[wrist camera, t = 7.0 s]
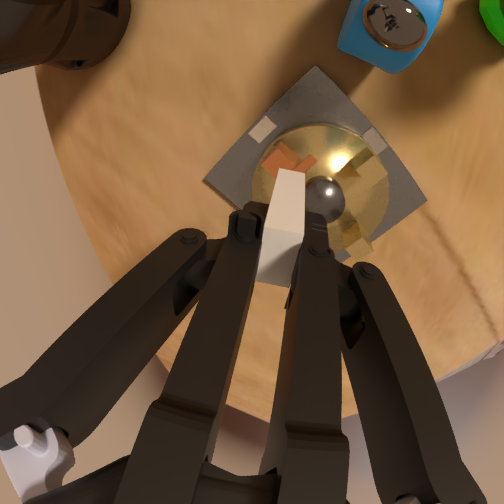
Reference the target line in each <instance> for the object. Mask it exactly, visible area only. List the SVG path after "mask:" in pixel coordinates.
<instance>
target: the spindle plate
mask: <svg viewBox="0 0 504 504" xmlns="http://www.w3.org/2000/svg"><path fill="white" fill-rule="evenodd" d="M308 123H330V124H335V125H338V126H342V127H344V128H346V129H349V130H351V131H352V132H354V133H355V134H357V135H358V136H360V137H361V138H362V139H363V140H364V141H365V142H366V143H367V144H368V145H369V146H370V147H371V148H372V149H373V150H374V152H375V153H376V154H377V156H378V157H379V159H380V160H381V162H382V164H383V166H384V168H385V170H386V171H387V173H388V174H387V177H388V182H389V201H388V206H387V209H386V212H385V215H384V217H383V219H382V221H381V222H380V224H379V226H378V227H377V228H376V229H375V231H374V232H373V233H372V234H371V235H370V236H369V237H370V240H371V242H372V241H374V240H375V239H376V238H378V237H379V236H381V235H382V234H383V233H385V232H386V231H387V230H389V229H390V228H392V227H393V226H394V225H396V224H397V223H398V222H400V221H401V220H402V219H404V218H405V217H407V216H408V215H409V214H411V213H412V212H413V211H414V210H416V209H417V208H418V207H420V206H421V205H422V204H424V203H425V202H426V201H427V199H426V197H425V196H424V194H423V193H422V191H421V190H420V188H419V187H418V185H417V183H416V182H415V180H414V179H413V178H412V176H411V175H410V173H409V172H408V170H407V169H406V167H405V166H404V165H403V163H402V162H401V161H400V159H399V158H398V156H397V155H396V154H395V152H394V151H393V150H392V148H391V147H390V146H389V145H388V143H387V142H386V141H385V139H384V138H383V137H382V136H381V134H380V133H379V132H378V131H377V130H376V128H375V127H374V126H373V125H372V124H371V122H370V121H369V120H368V119H367V118H366V117H365V115H364V114H363V113H362V112H361V111H360V110H359V109H358V108H357V106H356V105H355V104H354V103H353V102H352V101H351V100H350V99H349V98H348V97H347V96H346V95H345V94H344V93H343V92H342V90H341V89H340V88H339V87H338V86H337V85H336V84H335V83H334V82H333V81H332V80H331V79H330V78H329V77H328V76H326V75H325V74H324V73H323V72H322V71H321V70H320V69H319V68H318V67H317V66H316V65H315V66H314V67H313V68H312V69H310V70H309V71H308V72H307V73H306V74H305V75H304V76H303V77H302V78H301V79H299V80H298V81H297V82H296V83H295V84H294V85H293V86H292V87H291V88H290V89H289V90H288V91H287V92H286V93H285V94H283V95H282V96H281V97H280V98H279V99H278V100H277V101H276V102H275V103H274V104H273V105H272V106H271V107H270V108H269V109H268V110H267V111H266V112H265V113H264V114H263V115H262V116H261V117H260V118H259V119H258V120H257V121H256V122H255V123H254V124H253V125H252V126H251V127H250V128H249V130H248V131H247V132H246V133H245V134H244V135H243V136H242V137H241V138H240V139H239V140H238V141H237V142H236V143H235V144H234V145H233V147H232V148H231V149H230V150H229V151H228V152H227V153H226V154H225V155H224V156H223V158H222V159H221V160H220V161H219V162H218V163H217V164H216V165H215V166H214V168H213V169H212V170H211V171H210V172H209V173H208V174H207V176H206V177H205V178H204V179H205V180H207V181H208V182H209V183H210V184H211V185H212V186H214V187H215V188H216V189H217V190H218V191H220V192H221V193H222V194H223V195H224V196H225V197H226V198H228V199H229V200H230V201H231V202H232V203H233V204H235V205H236V206H237V207H238V208H239V209H240V210H242V209H243V207H244V205H245V204H246V203H248V202H249V201H253V199H252V181H253V176H254V172H255V169H256V167H257V165H258V163H259V161H260V159H261V157H262V155H263V153H264V152H265V150H266V149H267V147H268V146H269V145H270V144H271V143H272V142H273V140H274V139H276V138H277V137H278V136H279V135H281V134H282V133H284V132H285V131H287V130H289V129H291V128H294V127H296V126H299V125H303V124H308ZM334 254H335V259H336V260H337V261H339V262H340V263H342V262H343V261H345V260H346V259H348V258H349V257H351V255H350V254H349V253H348V252H347V251H346V250H344V251H341V252H337V253H334Z"/></svg>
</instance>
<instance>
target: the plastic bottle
mask: <svg viewBox="0 0 504 504" xmlns="http://www.w3.org/2000/svg"><path fill="white" fill-rule="evenodd" d="M479 12H480V14H481V16H482V18H483V20H484V23H485V25H486V27H487V29H488V30H489V31H490V33H491V34H492V35H493V36H494V37H495V38H496V39H497V40H498V42H499V43H500V44H501V45H502V46H504V0H479Z"/></svg>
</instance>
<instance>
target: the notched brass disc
mask: <svg viewBox="0 0 504 504" xmlns="http://www.w3.org/2000/svg"><path fill="white" fill-rule="evenodd" d="M279 168H281V169H286V170H291V171H296V172H301V173H305V211H309V212H314V213H319V214H322V215H323V216H324V218H325V219H326V220H327V229H328V239H329V247H330V248H331V249H332V250H333V252H334V253H337V252H341V251H344V250H346V251H347V252H348V253H349V254H350V255H351V256H352V257H353V258H354V259H355V260H356V262H358V261H360V260H361V259H363V258H364V257H366V256H367V255H369V254H370V253H372V252H373V251H374V250H373V247H372V244H371V240H370V237H369V236H370V235H371V234H372V233H373V232H374V231H375V229H376V228H377V227H378V226H379V224H380V222H381V221H382V219H383V217H384V215H385V212H386V209H387V206H388V201H389V182H388V177H387V174H388V173H387V171H386V170H385V168H384V166H383V164H382V162H381V160H380V159H379V157H378V156H377V154H376V153H375V152H374V150H373V149H372V148H371V147H370V146H369V145H368V144H367V143H366V142H365V141H364V140H363V139H362V138H361V137H360V136H358V135H357V134H355V133H354V132H352V131H351V130H349V129H346V128H344V127H342V126H338V125H335V124H330V123H308V124H303V125H299V126H296V127H294V128H291V129H289V130H287V131H285V132H284V133H282V134H281V135H279V136H278V137H277V138H276V139H274V140H273V142H272V143H271V144H270V145H269V146H268V147H267V149H266V150H265V152H264V153H263V155H262V157H261V159H260V161H259V163H258V165H257V167H256V169H255V172H254V176H253V181H252V199H253V201H255V202H260V203H266V204H270V201H271V198H272V194H273V190H274V186H275V182H276V179H277V175H278V171H279Z"/></svg>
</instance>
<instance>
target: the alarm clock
mask: <svg viewBox="0 0 504 504" xmlns="http://www.w3.org/2000/svg"><path fill="white" fill-rule="evenodd" d="M443 3H444V0H351V2H350V5H349V8H348V10H347V13H346V16H345V18H344V21H343V24H342V27H341V30H340V34H339V37H338V42H337V47H338V49H339V50H341V51H343V52H345V53H348V54H350V55H352V56H355V57H357V58H359V59H361V60H363V61H366V62H368V63H370V64H372V65H374V66H376V67H378V68H380V69H382V70H384V71H386V72H388V73H391V74H394V73H399V72H401V71H402V70H404V69H406V68H407V67H408V66H409V65H410V64H411V63H412V62H413V61H414V60H415V59H416V58H417V57H418V56H419V54H420V53H421V52H422V50H423V49H424V47H425V46H426V44H427V43H428V41H429V39H430V38H431V36H432V34H433V32H434V30H435V28H436V26H437V23H438V21H439V18H440V15H441V12H442V8H443Z"/></svg>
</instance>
